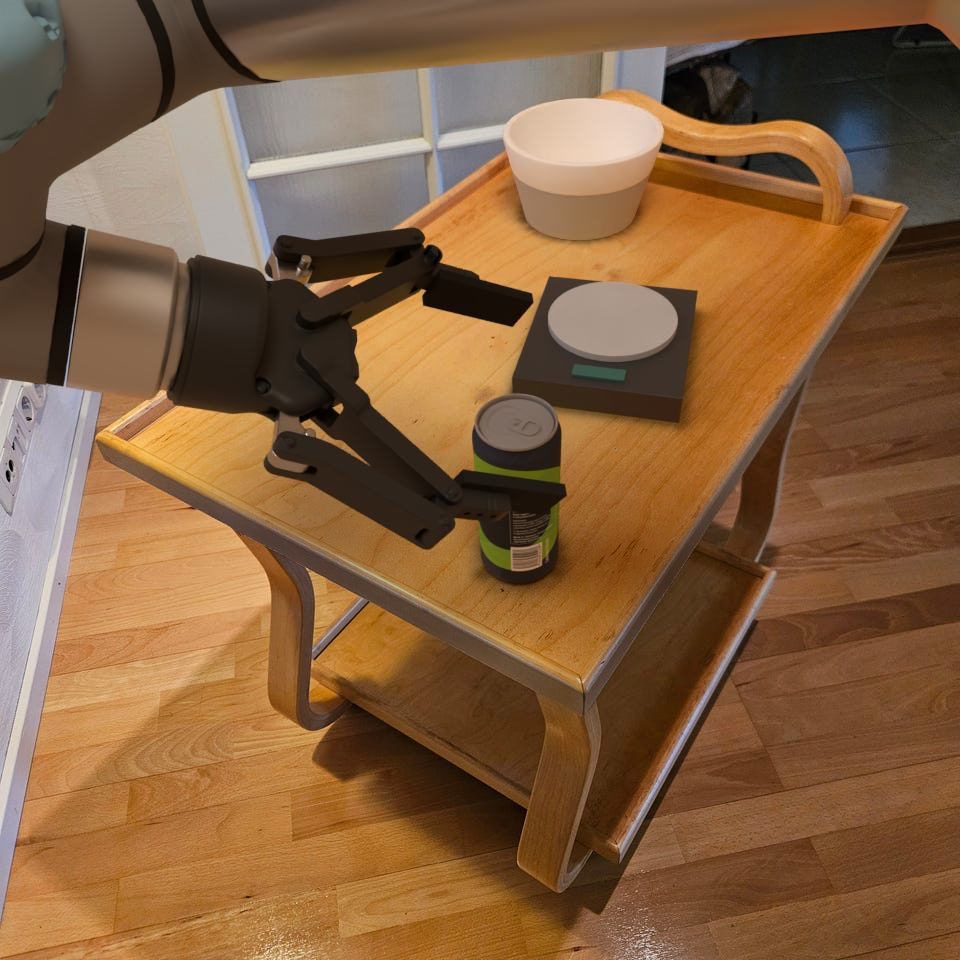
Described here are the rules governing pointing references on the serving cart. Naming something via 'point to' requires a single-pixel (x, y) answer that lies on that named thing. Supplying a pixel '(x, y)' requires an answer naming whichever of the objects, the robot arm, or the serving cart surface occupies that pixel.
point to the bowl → (582, 164)
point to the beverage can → (526, 454)
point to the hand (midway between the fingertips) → (537, 399)
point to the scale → (609, 348)
